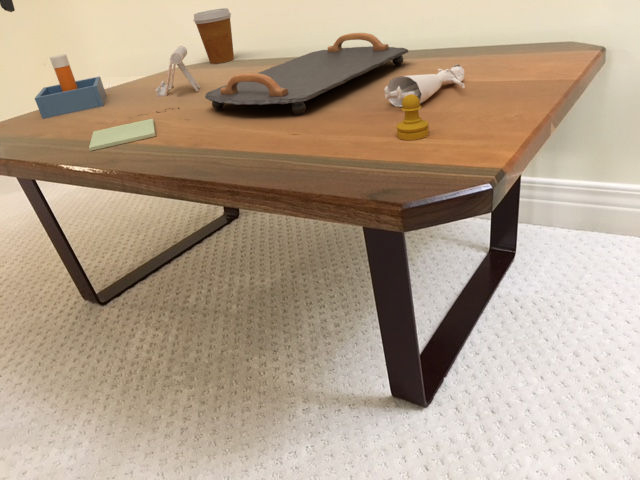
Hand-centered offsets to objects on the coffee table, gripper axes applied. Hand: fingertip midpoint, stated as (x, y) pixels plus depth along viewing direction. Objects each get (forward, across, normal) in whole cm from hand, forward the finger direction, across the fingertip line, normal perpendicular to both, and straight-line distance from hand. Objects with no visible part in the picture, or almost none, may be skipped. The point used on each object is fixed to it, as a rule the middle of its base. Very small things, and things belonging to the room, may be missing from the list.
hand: (26, 3), depth 103 cm
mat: (+32, +21, -12) cm, 40 cm away
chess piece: (+45, +67, -20) cm, 83 cm away
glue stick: (+19, -1, +7) cm, 20 cm away
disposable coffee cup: (+9, +18, +43) cm, 48 cm away
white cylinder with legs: (+22, +20, +13) cm, 32 cm away
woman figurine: (+39, +69, -3) cm, 79 cm away
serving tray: (+30, +49, +8) cm, 58 cm away
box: (+20, -1, +7) cm, 21 cm away
